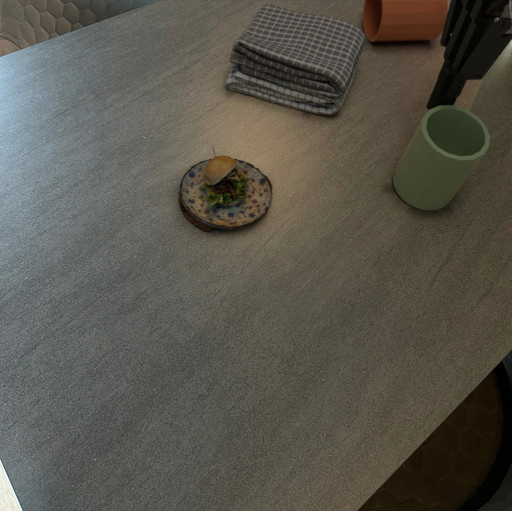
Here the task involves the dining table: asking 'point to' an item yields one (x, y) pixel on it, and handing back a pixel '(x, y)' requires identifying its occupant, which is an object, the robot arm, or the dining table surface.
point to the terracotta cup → (404, 19)
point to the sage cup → (440, 157)
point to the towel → (296, 59)
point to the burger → (224, 193)
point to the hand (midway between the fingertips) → (438, 109)
